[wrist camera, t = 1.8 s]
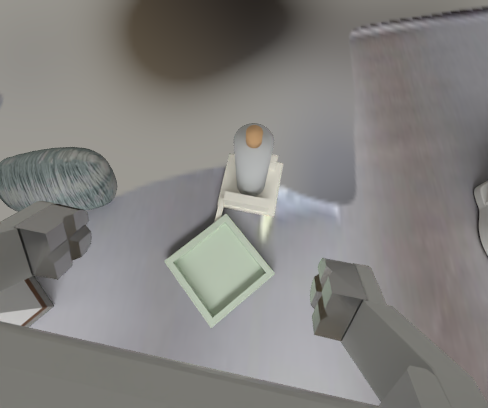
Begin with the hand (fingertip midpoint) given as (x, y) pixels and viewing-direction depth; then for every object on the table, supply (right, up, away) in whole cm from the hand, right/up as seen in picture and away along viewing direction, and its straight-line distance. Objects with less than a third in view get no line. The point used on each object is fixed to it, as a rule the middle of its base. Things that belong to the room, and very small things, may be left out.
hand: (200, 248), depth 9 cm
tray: (-2, -7, +26) cm, 27 cm away
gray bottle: (+2, +4, +29) cm, 29 cm away
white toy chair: (+2, +3, +29) cm, 29 cm away
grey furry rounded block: (-23, +3, +30) cm, 37 cm away
